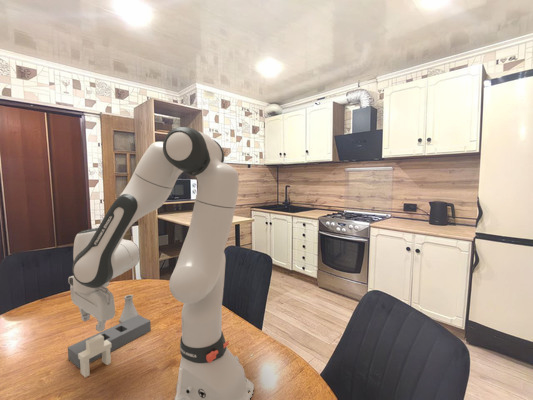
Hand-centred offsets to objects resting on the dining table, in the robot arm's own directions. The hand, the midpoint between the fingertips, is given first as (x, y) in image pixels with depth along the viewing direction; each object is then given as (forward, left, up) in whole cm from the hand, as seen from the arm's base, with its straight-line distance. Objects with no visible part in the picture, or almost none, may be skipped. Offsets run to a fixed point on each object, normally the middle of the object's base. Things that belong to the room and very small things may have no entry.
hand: (92, 324), depth 78 cm
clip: (-1, 0, -14) cm, 14 cm away
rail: (+7, -9, -14) cm, 18 cm away
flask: (+18, -21, -14) cm, 32 cm away
